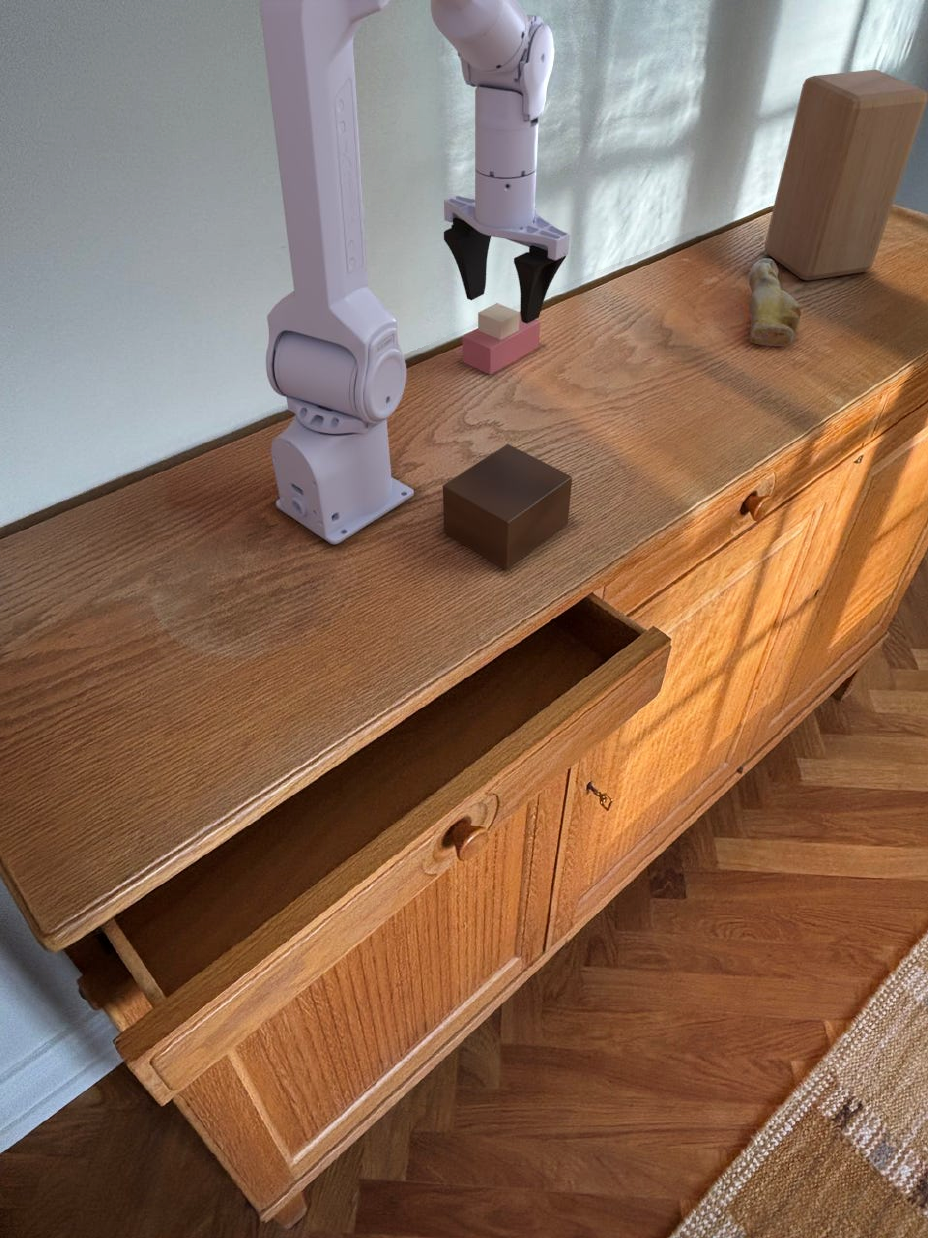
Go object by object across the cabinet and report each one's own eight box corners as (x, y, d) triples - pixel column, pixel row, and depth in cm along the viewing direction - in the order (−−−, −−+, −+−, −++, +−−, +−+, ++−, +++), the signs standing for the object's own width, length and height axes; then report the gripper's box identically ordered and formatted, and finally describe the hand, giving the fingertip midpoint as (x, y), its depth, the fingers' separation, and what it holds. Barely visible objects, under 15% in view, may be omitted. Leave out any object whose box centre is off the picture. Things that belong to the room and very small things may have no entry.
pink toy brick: (490, 375, 91) (490, 330, 87) (462, 362, 93) (461, 317, 89) (539, 347, 95) (541, 303, 91) (511, 335, 97) (512, 291, 93)
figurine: (813, 331, 92) (802, 253, 101) (772, 309, 91) (764, 232, 100) (781, 366, 96) (773, 288, 105) (740, 345, 95) (735, 268, 104)
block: (759, 251, 112) (801, 74, 98) (826, 241, 114) (877, 66, 100) (802, 284, 105) (854, 98, 91) (873, 273, 107) (935, 89, 93)
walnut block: (506, 571, 70) (507, 522, 66) (443, 533, 73) (442, 485, 69) (568, 524, 74) (572, 476, 70) (506, 490, 77) (507, 443, 74)
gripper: (594, 174, 79) (581, 315, 89) (477, 139, 86) (477, 274, 96) (545, 196, 75) (537, 341, 85) (427, 158, 82) (432, 296, 92)
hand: (502, 307), depth 90 cm, fingers open, 7 cm apart
